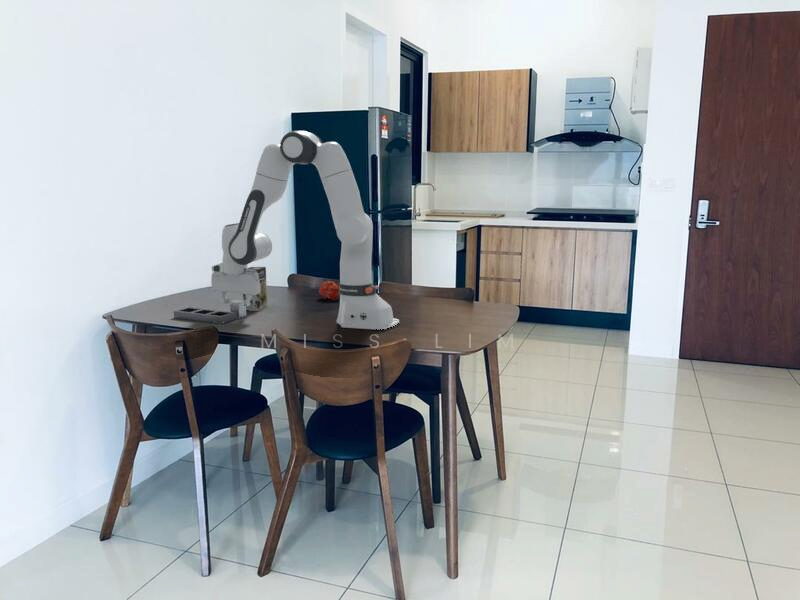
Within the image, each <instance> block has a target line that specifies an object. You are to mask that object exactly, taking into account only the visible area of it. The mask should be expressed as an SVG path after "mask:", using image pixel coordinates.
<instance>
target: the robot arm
mask: <svg viewBox="0 0 800 600" xmlns="http://www.w3.org/2000/svg"><path fill="white" fill-rule="evenodd" d="M279 143H280V144H278V143H271V144H270V143H269V144H268V145H266V146H265V147H264V149H263V150H262V154H261V155H260V158H259V160H258V161H259V162H258V164H257V168H256V170H255V171H256V173H255V176H254V179H253V184H252V187H251V189H250V192H249V194H248V197H246V201H245V204H244V207H243V210H242V213H241V216H240V220H239V222H235V223H231V224H229V223H228V224H226V225H224V226H223V229H222V232H221V249H222V253H223V254H222V259H221V260H222V262H220V263H217V264H214V265H212V266H211V271H212V273H211V277H210V278H211V279H210V280H211V284H210V285H211V289H212V290H213V291H215V292H216V291H217V292H220V296H221V298H222V302H223V304H227V305H228V304H230V298H229V297H228V295H227V294H228V293H233V294H242V295H243V294H246V297H247V299H246V301H244V306H250V300H251V298H252V295H257V294H259V293H260V292H261V287H260V281H259V274H258V272H257V271H256V270H254V269H248V268H249V267H248V264H251V263H252V262H256V261H260V260H263V259H265V258H267V257H269V256H270V254H271V253H272V250H273V244H272V241H271V240H272V239H270V237H269V236H268V235H267V234H265V233H262V232H258V228H259V224H260V221H261V218H262V215H263V214H264V213H265V211H266V210H267V209H268V208H269V207H271V206H273V204H275V203H277V202H278V201H279V200H280V199H281V200H282V197H283V196H284V193H285V191H286V189H287V185H288V181H289V177H290V172H291V170H292V167H293V166H295V165H297V164H298V165H308V164H312V165H314V166H315V167H316V170H317V171H318V173H319V174H318V175H319V177H320V180H321V183H322V185H323V189H324V192H325V194H326V197H327V200H328V204H329V208H330V212H331V217H332V221H333V224H334V228H335V231H336V236H337V238H338V240H339V241H340V242H341V249H340V260H339V280H340V281H339V296H340V297H339V309H338V314H337V318H336V324H338V325H340V328H343V329H344V328H347V329H363V330H376V329H377V330H378V331H379V330H380V329H381V330H380V331H383V330H382V329H384V330H388V329H387V328H389V329H391V328H390V327H392V328H394V327H396V326H398V325H399V324H400V319H398V318H395V317H394V313H393V309H392V306H391V304H389V303H388V302H387V301H386V300H384V299H383V298H382V297H381V296H380V295H378V294H377V289H379V285H374V283H373V282H372V281H373V279H372V259H373V258H372V254H373V240H374V239H373V237H374V236H373V235H374V234H373V233H374V232H373V231H374V224H373V221H372V219H371V217H370V216H369V214H367V213H365V211H364V205H363V203H362V198H361V195H360V194H361V193H360V190H359V187H358V183H357V181H356V178H355V174H354V172H353V169H352V167H351V164H350V161H349V159H348V157H347V154H346V152H345V150H344V149H343V147H342V146H341V144H339V143H338V142H336V141H326V142H323V141H322V140H321V138H320V137H319V136H318V135H317V134H316V133H314V132H310V131H309V132H308V131H306V130H291V131H289V132H287V133H286V134H284V135H283V137H282V138H281V141H280V142H279ZM398 323H399V324H398ZM397 324H398V325H397ZM395 325H396V326H395ZM393 326H394V327H393Z"/></svg>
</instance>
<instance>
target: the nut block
mask: <svg viewBox="0 0 800 600" xmlns="http://www.w3.org/2000/svg"><path fill="white" fill-rule="evenodd" d="M229 301H230V300H229ZM244 301H246V300H243V299H233V300H231V301H230V302H229V309H230V311H229V312H235V313H236V317H242V318H244V317H243V316H245V317H247V311H246V306H244Z"/></svg>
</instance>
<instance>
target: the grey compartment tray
mask: <svg viewBox="0 0 800 600" xmlns="http://www.w3.org/2000/svg"><path fill="white" fill-rule="evenodd" d="M173 318H174V319H179V318H182V319H181V320H186V319H188V321H194V320H196V322H202V321H207V322H206V323H210V322H215V323H214V324H217V323H222V324H224V323H223V322H226V321H229V320H232V319H235V318H236V313H235V312H231V311H225V310H219V309H218V310H217V309H207V308H199V307H193V306H192V307H190V306H188V307H185V308H181V309H178V310H174V311H173ZM236 319H237V318H236ZM236 319H235V320H236ZM232 321H233V320H232ZM229 322H230V321H229ZM226 323H227V322H226Z"/></svg>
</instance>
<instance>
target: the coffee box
mask: <svg viewBox="0 0 800 600" xmlns="http://www.w3.org/2000/svg"><path fill="white" fill-rule="evenodd" d="M248 269H254V270H256V271H257V272H258V274H259V281H260V287H261V292H260V293H259V294H257V295H252V298H251V300H250V306H246V310H249V311H251V312H259V311H261V310H263V309H265V308H267V307H268V290H267V286H268V285H267V267H266V266H250V267H248ZM246 299H247V297H246V294H242V300H246Z"/></svg>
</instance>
